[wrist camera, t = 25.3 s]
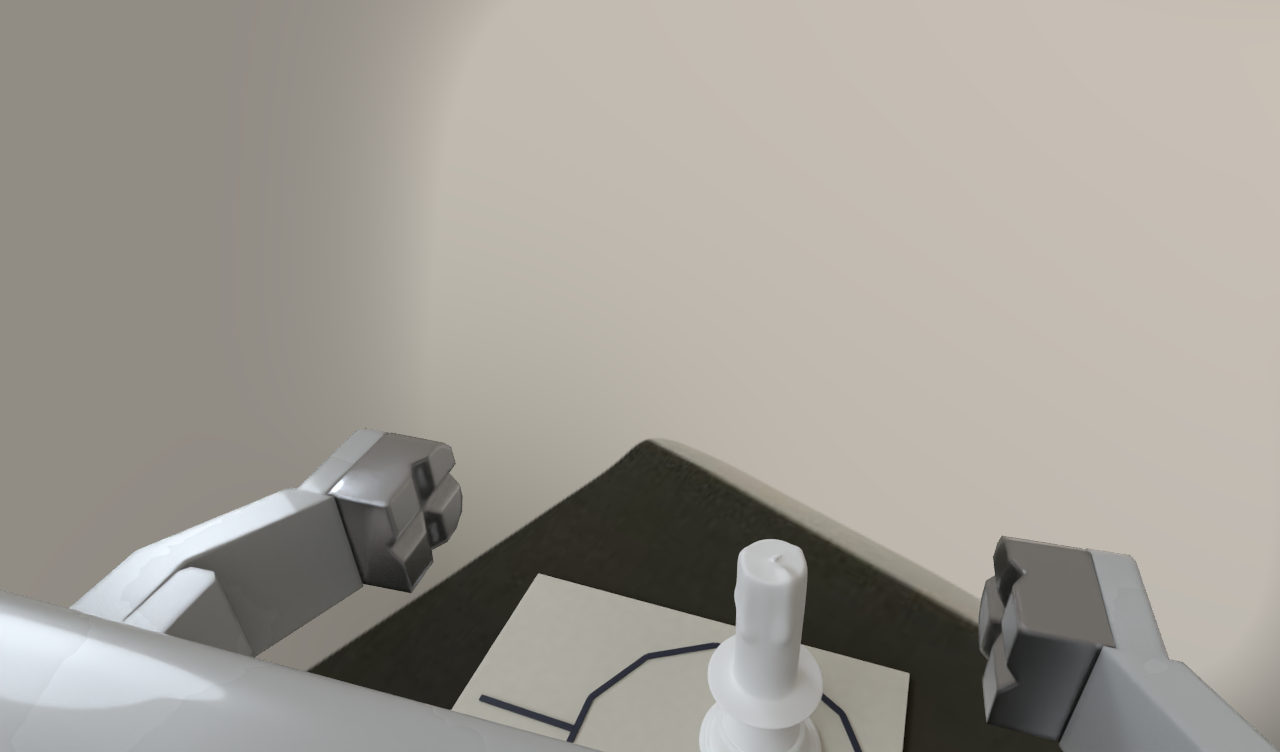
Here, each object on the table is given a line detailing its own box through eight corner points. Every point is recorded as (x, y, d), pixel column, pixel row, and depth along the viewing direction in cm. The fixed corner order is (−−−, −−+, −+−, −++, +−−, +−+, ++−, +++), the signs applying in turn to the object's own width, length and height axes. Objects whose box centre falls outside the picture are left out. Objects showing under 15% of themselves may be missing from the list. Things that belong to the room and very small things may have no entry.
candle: (845, 776, 33) (882, 577, 26) (732, 825, 31) (742, 626, 25) (782, 676, 37) (800, 484, 30) (680, 714, 35) (677, 521, 29)
